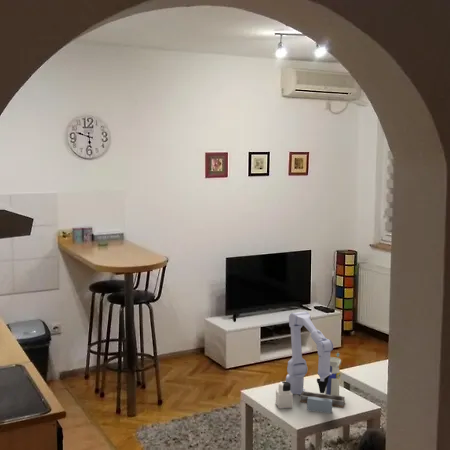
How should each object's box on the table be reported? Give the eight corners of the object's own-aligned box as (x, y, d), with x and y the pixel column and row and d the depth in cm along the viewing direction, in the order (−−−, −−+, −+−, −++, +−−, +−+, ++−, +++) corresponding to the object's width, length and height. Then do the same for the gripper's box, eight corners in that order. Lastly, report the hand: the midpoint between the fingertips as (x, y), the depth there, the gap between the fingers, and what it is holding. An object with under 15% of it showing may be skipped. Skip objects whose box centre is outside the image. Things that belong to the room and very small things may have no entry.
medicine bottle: (288, 402, 314) (289, 379, 312) (292, 408, 307) (293, 385, 305) (275, 402, 312) (276, 380, 311) (278, 408, 305) (279, 385, 304)
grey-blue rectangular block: (307, 410, 305) (307, 398, 304) (307, 407, 308) (308, 396, 307) (331, 413, 301) (331, 401, 301) (331, 411, 304) (332, 399, 304)
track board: (299, 401, 314) (300, 396, 314) (302, 396, 322) (302, 390, 322) (343, 407, 308) (343, 402, 308) (344, 401, 316) (344, 396, 315)
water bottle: (343, 394, 325) (345, 349, 322) (334, 399, 319) (336, 352, 316) (330, 390, 331) (332, 345, 328) (321, 394, 325) (323, 349, 322)
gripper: (330, 369, 295) (329, 396, 297) (333, 360, 309) (332, 385, 311) (316, 368, 297) (315, 394, 299) (319, 358, 311) (318, 384, 312)
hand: (323, 390), depth 305 cm, fingers open, 7 cm apart
